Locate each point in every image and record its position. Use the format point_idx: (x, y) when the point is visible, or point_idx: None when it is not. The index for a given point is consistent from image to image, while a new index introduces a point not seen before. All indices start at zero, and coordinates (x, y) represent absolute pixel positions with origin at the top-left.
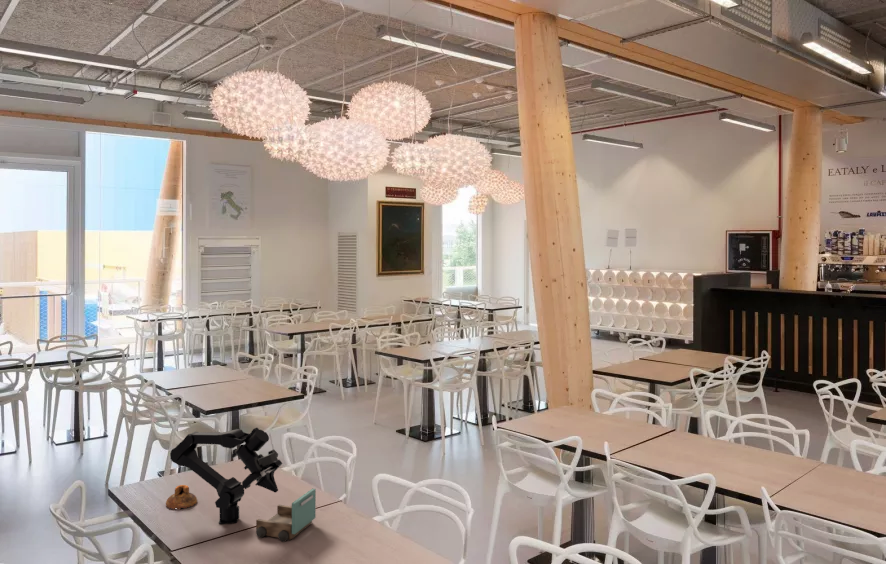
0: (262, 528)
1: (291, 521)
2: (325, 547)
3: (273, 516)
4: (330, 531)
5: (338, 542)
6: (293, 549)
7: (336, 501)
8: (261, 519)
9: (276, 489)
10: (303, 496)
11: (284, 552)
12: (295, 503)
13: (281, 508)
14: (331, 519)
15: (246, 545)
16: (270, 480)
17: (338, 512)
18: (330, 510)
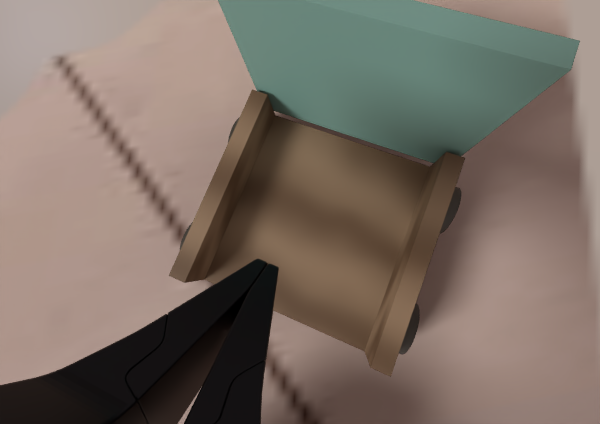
0: (418, 321)
1: (301, 194)
2: None
3: None
4: None
5: (439, 3)
6: (514, 156)
7: (63, 69)
8: (380, 344)
9: (269, 274)
10: (392, 5)
11: (546, 188)
12: (562, 40)
13: (201, 257)
14: (229, 60)
15: (487, 375)
16: (211, 400)
17: (167, 46)
18: (144, 77)
